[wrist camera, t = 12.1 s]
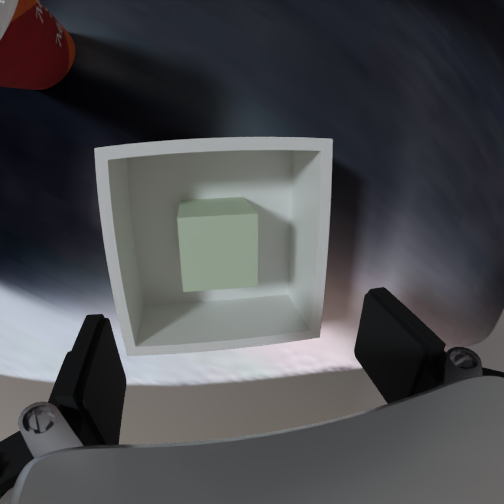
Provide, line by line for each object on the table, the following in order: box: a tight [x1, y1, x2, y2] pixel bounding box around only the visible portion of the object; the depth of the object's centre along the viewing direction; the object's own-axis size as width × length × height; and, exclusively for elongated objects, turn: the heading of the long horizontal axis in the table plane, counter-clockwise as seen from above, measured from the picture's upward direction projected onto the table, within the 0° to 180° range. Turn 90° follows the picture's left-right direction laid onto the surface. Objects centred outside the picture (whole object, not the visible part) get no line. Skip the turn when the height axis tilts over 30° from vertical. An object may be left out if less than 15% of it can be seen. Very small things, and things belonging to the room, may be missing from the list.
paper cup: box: [0, 0, 75, 90], centre depth 13 cm, size 8×8×14 cm
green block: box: [177, 197, 258, 292], centre depth 23 cm, size 5×5×6 cm
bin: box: [94, 137, 333, 356], centre depth 24 cm, size 15×15×7 cm
